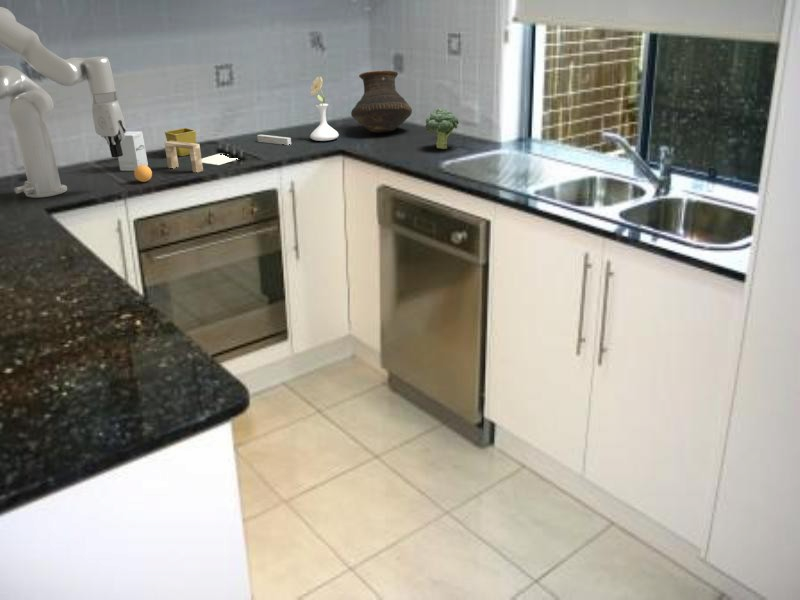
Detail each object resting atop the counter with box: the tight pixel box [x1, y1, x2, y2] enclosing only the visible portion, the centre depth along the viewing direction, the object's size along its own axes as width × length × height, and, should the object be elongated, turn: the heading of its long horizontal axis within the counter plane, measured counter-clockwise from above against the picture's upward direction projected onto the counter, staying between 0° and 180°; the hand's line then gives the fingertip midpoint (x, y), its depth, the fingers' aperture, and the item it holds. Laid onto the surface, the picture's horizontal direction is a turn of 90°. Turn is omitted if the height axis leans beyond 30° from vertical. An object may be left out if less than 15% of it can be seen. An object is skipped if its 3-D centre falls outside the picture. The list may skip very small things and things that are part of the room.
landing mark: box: [201, 153, 239, 166], centre depth 287 cm, size 13×13×1 cm
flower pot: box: [164, 127, 197, 157], centre depth 295 cm, size 9×9×9 cm
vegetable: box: [425, 107, 460, 150], centre depth 285 cm, size 12×13×15 cm
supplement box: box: [117, 131, 149, 172], centre depth 277 cm, size 7×7×13 cm
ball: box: [133, 165, 153, 183], centre depth 261 cm, size 6×6×6 cm
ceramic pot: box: [350, 70, 413, 134], centre depth 314 cm, size 24×24×22 cm
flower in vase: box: [309, 76, 340, 142], centre depth 305 cm, size 13×11×25 cm
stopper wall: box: [256, 134, 292, 146], centre depth 309 cm, size 2×16×2 cm, turn 56°
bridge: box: [163, 140, 204, 173], centre depth 273 cm, size 3×15×9 cm, turn 56°
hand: (117, 156), depth 250 cm, fingers closed
